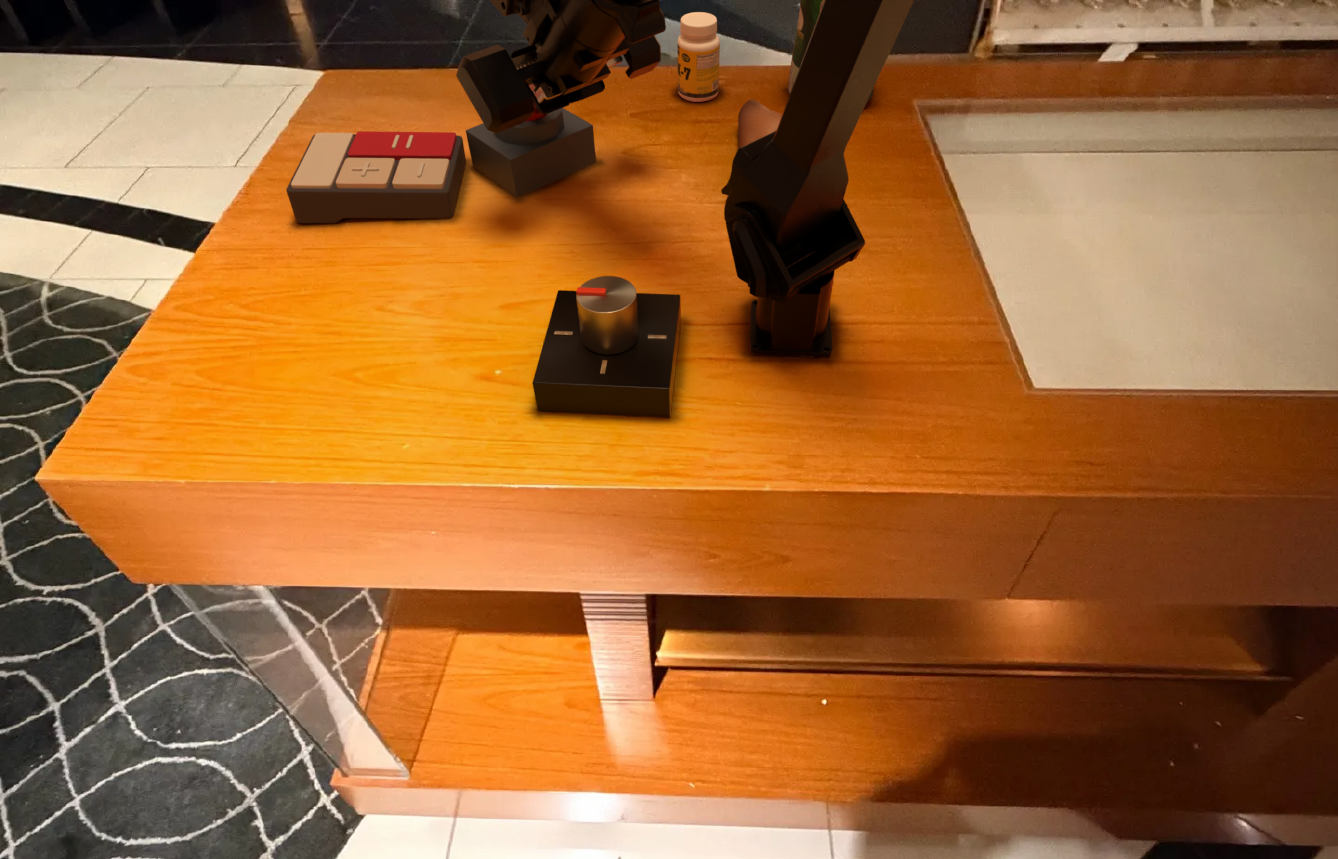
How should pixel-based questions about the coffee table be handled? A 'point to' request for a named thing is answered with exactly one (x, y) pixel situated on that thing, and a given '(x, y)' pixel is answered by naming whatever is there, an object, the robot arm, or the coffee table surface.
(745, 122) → the sunglasses case
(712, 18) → the supplement bottle
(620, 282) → the stove knob
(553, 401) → the panel
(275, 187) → the coffee table surface
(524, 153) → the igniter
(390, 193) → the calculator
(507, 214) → the coffee table surface
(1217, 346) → the coffee table surface
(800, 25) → the coffee jar
